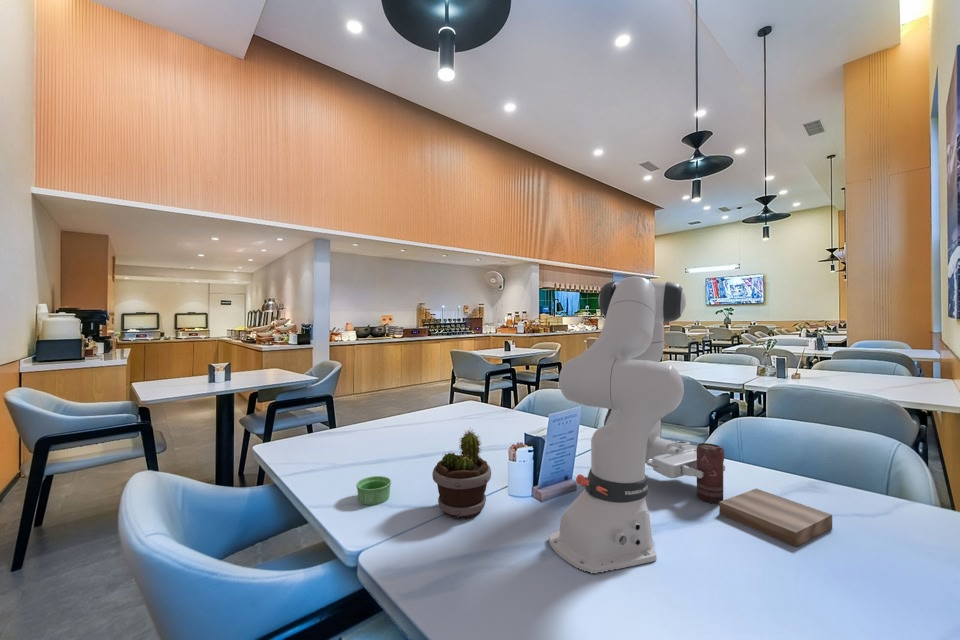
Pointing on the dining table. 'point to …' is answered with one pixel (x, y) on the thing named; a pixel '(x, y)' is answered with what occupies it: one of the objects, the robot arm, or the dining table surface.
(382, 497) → the ramekin
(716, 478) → the can
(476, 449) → the flowerpot
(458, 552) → the dining table surface
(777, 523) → the walnut base
